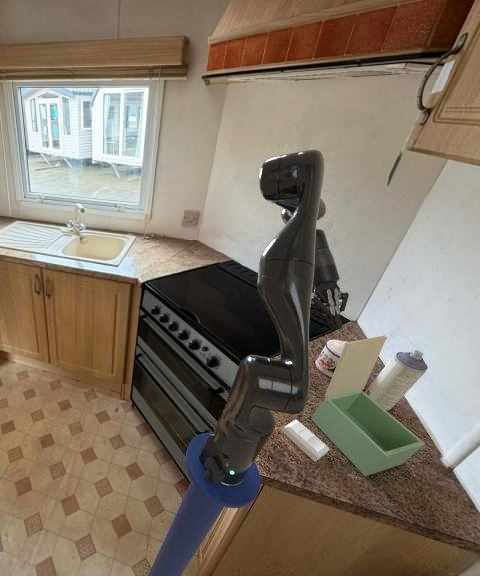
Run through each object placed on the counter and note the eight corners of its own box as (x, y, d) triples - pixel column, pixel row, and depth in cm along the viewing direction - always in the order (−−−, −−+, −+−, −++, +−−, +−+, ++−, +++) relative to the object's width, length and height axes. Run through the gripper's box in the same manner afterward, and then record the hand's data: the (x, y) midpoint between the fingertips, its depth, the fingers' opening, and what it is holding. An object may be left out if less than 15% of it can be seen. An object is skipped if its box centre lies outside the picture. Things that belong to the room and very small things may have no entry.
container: (402, 463, 76) (425, 443, 71) (364, 476, 72) (386, 456, 68) (345, 409, 88) (361, 389, 83) (310, 418, 85) (325, 398, 80)
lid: (387, 337, 76) (383, 335, 77) (349, 344, 73) (345, 342, 74) (363, 389, 83) (360, 387, 84) (327, 398, 80) (324, 395, 80)
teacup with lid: (307, 360, 104) (323, 334, 98) (329, 357, 106) (346, 332, 100) (337, 388, 95) (357, 362, 88) (361, 385, 96) (382, 359, 90)
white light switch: (292, 423, 83) (296, 417, 82) (326, 453, 77) (331, 447, 75) (281, 431, 81) (285, 425, 80) (314, 462, 75) (319, 456, 73)
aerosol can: (384, 395, 94) (427, 347, 83) (395, 414, 88) (442, 365, 77) (359, 389, 95) (397, 340, 84) (368, 406, 90) (410, 357, 79)
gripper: (324, 269, 91) (341, 327, 87) (288, 272, 87) (304, 333, 84) (350, 261, 83) (369, 324, 80) (312, 265, 80) (331, 331, 77)
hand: (336, 329), depth 82 cm, fingers closed
